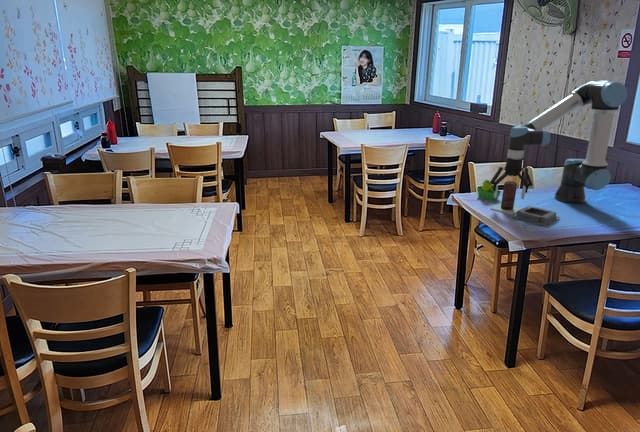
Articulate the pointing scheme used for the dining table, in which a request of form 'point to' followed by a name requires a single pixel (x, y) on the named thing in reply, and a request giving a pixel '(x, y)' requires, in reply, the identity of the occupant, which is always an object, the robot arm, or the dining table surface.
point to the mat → (513, 211)
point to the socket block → (536, 215)
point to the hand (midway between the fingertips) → (508, 198)
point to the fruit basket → (487, 191)
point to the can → (508, 195)
